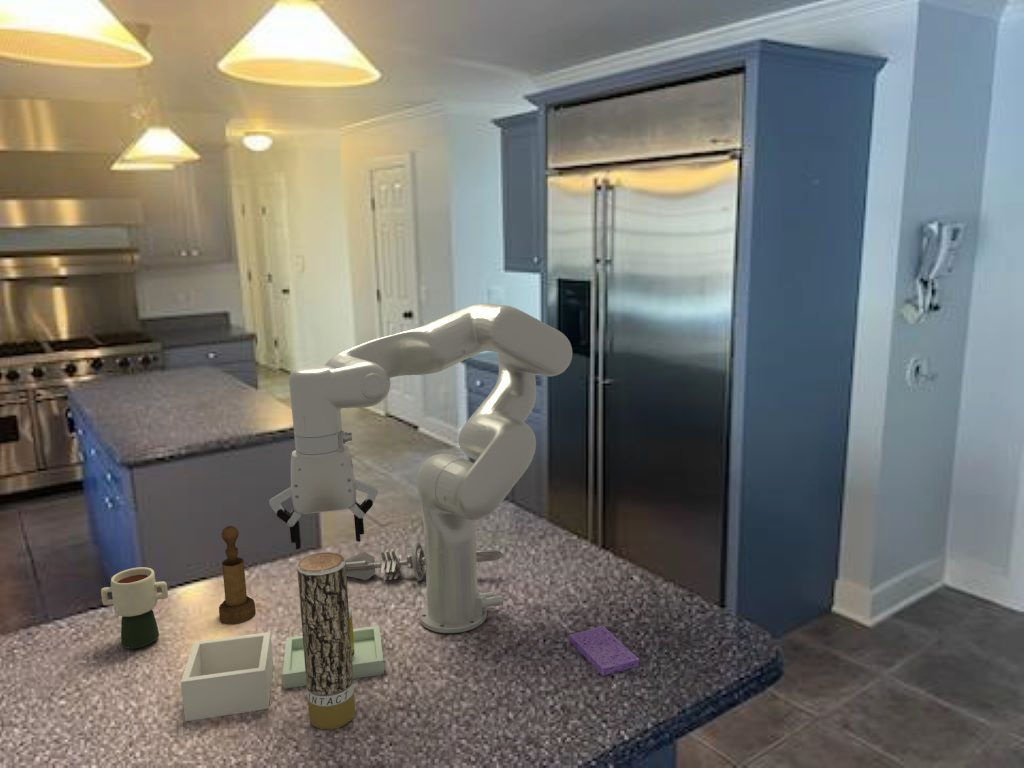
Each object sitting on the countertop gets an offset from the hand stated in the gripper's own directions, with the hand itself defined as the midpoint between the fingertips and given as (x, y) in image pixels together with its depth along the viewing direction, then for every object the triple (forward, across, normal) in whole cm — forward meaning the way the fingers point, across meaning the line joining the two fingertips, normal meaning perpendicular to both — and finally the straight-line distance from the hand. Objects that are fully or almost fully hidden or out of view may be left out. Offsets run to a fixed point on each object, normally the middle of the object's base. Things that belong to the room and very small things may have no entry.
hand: (328, 542), depth 128 cm
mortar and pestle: (+22, +19, -22) cm, 36 cm away
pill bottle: (+21, +1, 0) cm, 21 cm away
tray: (+22, +1, 0) cm, 22 cm away
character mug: (+21, +35, -16) cm, 44 cm away
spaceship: (+22, -17, -28) cm, 40 cm away
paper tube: (+22, +1, +16) cm, 27 cm away
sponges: (+23, -44, +10) cm, 51 cm away
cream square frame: (+21, +17, +5) cm, 28 cm away
